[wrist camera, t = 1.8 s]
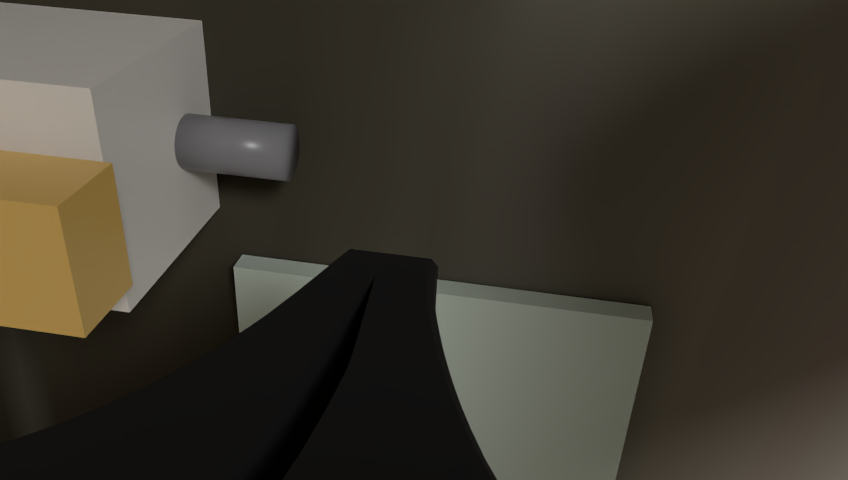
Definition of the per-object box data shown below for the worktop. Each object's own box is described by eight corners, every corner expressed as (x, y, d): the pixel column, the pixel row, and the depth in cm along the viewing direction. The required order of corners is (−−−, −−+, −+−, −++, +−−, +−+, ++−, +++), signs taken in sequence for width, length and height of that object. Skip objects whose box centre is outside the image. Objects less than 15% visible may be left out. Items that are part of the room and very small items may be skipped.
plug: (307, 29, 16) (223, 102, 12) (312, 216, 19) (243, 328, 15) (-11, 0, 17) (-183, 60, 13) (31, 182, 20) (-105, 279, 16)
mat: (650, 306, 18) (653, 321, 18) (597, 536, 22) (597, 553, 22) (242, 254, 19) (233, 266, 19) (261, 481, 23) (254, 497, 23)
